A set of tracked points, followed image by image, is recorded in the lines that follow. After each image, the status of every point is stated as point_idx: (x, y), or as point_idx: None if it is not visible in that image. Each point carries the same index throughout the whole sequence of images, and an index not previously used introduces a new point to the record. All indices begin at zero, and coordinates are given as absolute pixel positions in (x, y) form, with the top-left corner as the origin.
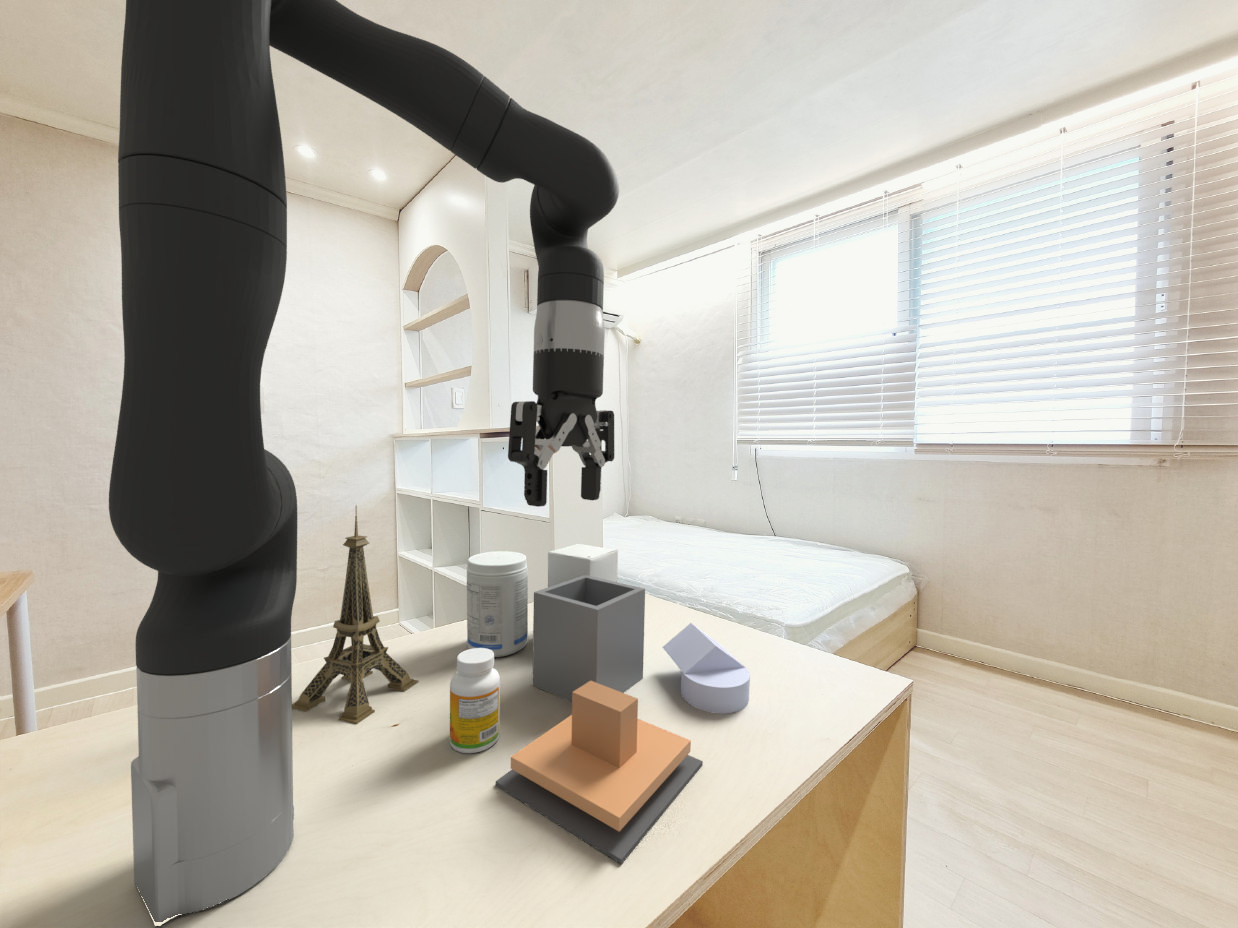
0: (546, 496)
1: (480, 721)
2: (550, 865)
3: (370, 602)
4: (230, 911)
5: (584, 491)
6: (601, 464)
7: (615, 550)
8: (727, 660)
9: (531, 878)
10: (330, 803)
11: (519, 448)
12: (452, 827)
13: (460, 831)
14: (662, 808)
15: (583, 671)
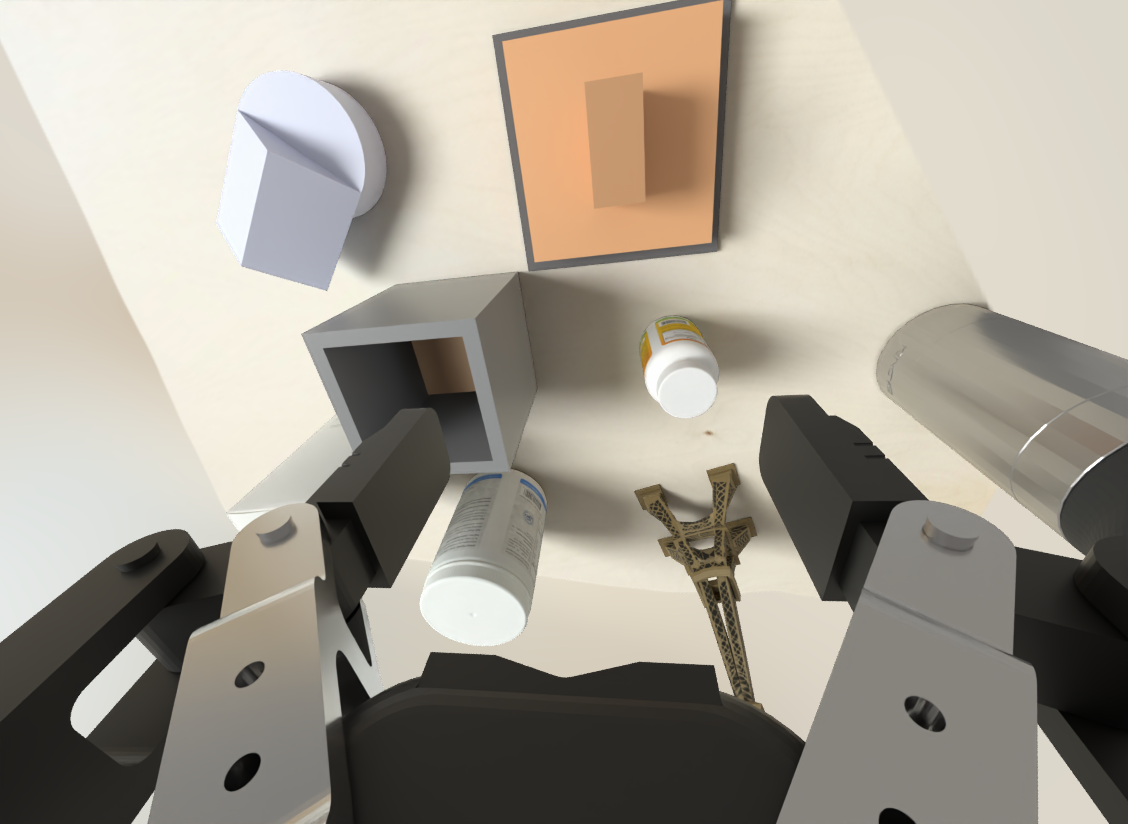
0: (788, 410)
1: (691, 329)
2: (779, 75)
3: (706, 604)
4: (972, 292)
5: (435, 478)
6: (292, 515)
7: (232, 513)
8: (264, 134)
9: (806, 78)
10: (835, 361)
11: (1103, 744)
12: (794, 227)
13: (794, 214)
14: (620, 12)
15: (511, 311)
